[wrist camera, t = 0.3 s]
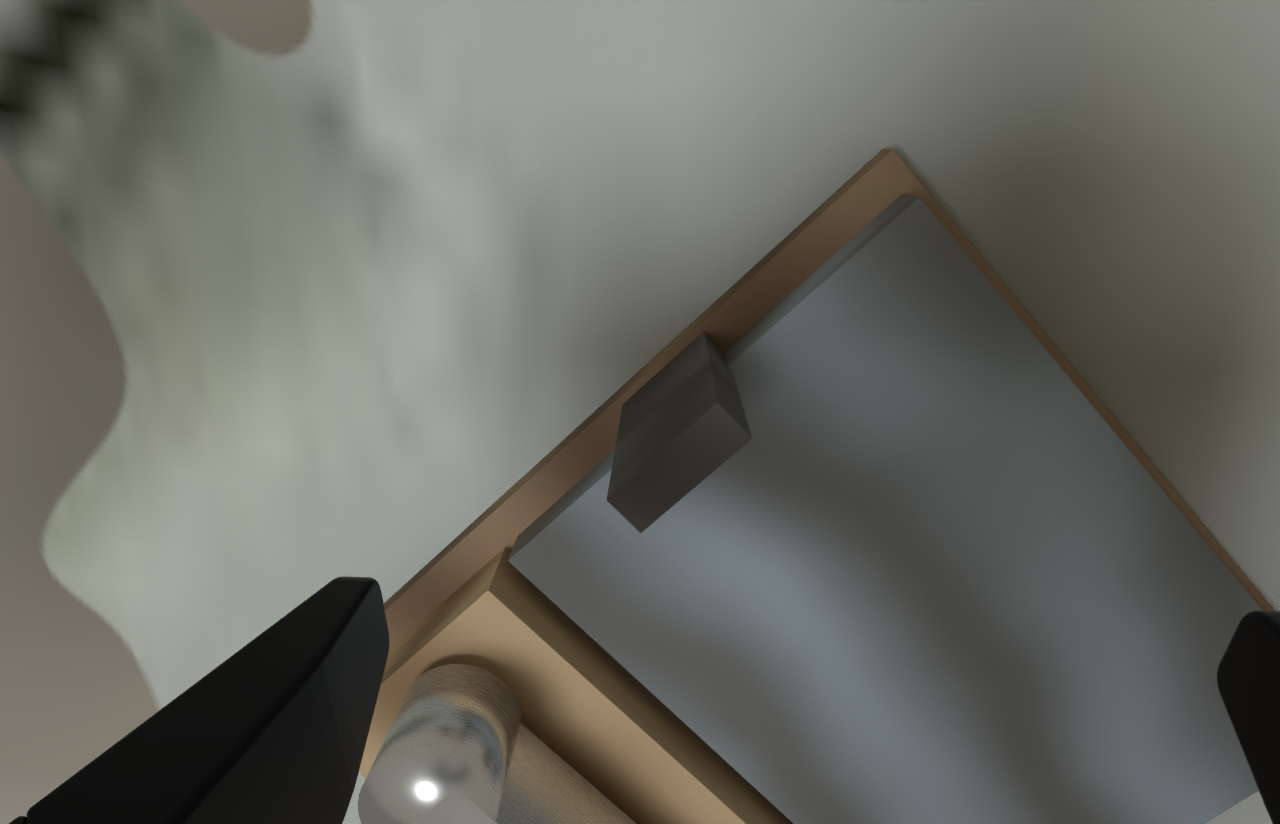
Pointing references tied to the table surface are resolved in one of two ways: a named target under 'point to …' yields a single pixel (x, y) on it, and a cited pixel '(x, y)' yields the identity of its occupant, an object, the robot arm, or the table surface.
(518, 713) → the lock bar
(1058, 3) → the table surface
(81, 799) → the robot arm
